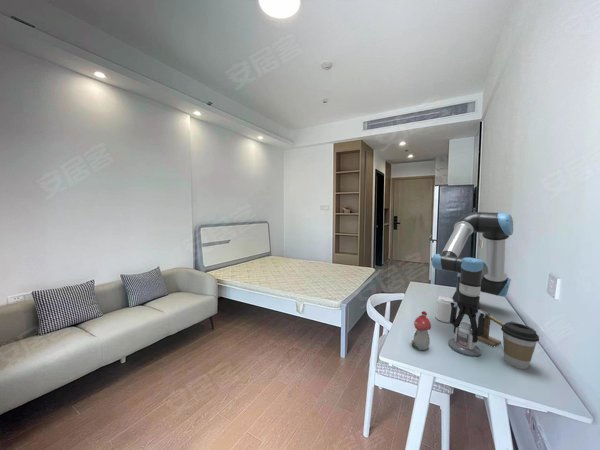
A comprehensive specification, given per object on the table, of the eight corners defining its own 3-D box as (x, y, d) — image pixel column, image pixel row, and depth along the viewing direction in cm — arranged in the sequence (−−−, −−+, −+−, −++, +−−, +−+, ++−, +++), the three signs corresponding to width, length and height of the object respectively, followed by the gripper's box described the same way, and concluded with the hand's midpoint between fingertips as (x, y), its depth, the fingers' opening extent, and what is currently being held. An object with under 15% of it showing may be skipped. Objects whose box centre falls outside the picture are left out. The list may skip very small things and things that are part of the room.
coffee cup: (536, 364, 97) (540, 328, 96) (535, 377, 89) (539, 338, 88) (499, 351, 105) (503, 318, 104) (495, 362, 97) (499, 326, 96)
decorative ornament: (419, 339, 112) (421, 308, 111) (433, 346, 107) (436, 314, 106) (407, 345, 107) (410, 313, 106) (422, 353, 101) (425, 319, 100)
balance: (460, 325, 127) (463, 297, 126) (523, 353, 104) (527, 318, 103) (452, 328, 124) (455, 298, 123) (515, 357, 101) (519, 321, 100)
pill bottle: (465, 342, 110) (467, 321, 109) (474, 349, 104) (477, 327, 103) (454, 341, 109) (456, 321, 108) (462, 349, 104) (465, 327, 103)
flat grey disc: (457, 338, 115) (458, 336, 115) (486, 352, 104) (486, 349, 104) (442, 344, 109) (442, 341, 109) (470, 359, 99) (471, 356, 99)
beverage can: (455, 324, 129) (457, 302, 128) (438, 322, 131) (440, 300, 130) (449, 317, 137) (450, 297, 136) (433, 315, 139) (435, 295, 138)
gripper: (443, 288, 111) (438, 336, 113) (488, 302, 95) (482, 359, 97) (452, 286, 115) (448, 333, 116) (498, 300, 98) (492, 354, 100)
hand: (464, 344), depth 107 cm, fingers closed on pill bottle, 5 cm apart
